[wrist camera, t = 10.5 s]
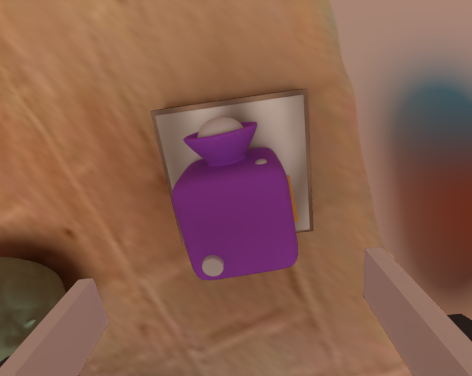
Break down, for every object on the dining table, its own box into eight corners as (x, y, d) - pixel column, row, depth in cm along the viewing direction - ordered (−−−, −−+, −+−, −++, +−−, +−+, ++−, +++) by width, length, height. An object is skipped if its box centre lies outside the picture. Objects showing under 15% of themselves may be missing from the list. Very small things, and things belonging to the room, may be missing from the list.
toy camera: (257, 97, 26) (266, 99, 17) (300, 213, 30) (327, 267, 21) (161, 139, 28) (119, 162, 18) (215, 244, 32) (203, 307, 22)
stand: (189, 225, 37) (181, 246, 32) (164, 108, 32) (149, 111, 27) (304, 212, 36) (314, 232, 31) (297, 89, 31) (308, 88, 26)
